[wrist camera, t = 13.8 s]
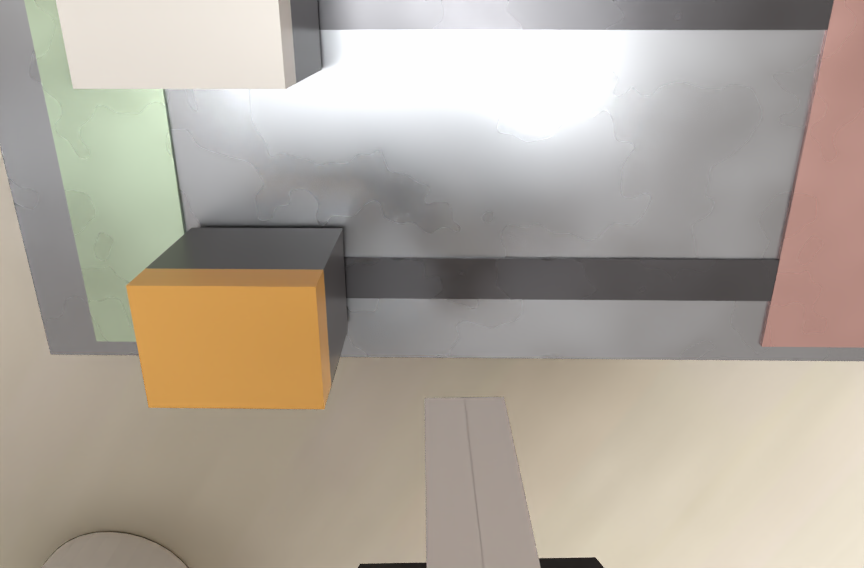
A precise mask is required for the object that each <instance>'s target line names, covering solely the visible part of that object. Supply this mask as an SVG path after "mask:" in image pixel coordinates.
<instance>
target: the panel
mask: <svg viewBox="0 0 864 568" xmlns="http://www.w3.org/2000/svg"><path fill="white" fill-rule="evenodd" d="M317 2H318V19H319V36H320V52H321V69H322V70H321V71H319V72H317V73H315V74H313V75H311V76H309V77H307V78H306V79H304V80H302V81H300V82H298V83H296V84H294V85H292V86H290V87H289V88H287V89H73V86H72V80H71V75H70V70H69V65H68V60H67V55H66V50H65V45H64V40H63V34H62V29H61V24H60V19H59V14H58V9H57V4H56V0H0V148H1V152H2V156H3V160H4V164H5V168H6V172H7V176H8V180H9V185H10V189H11V193H12V197H13V201H14V205H15V209H16V213H17V217H18V222H19V226H20V230H21V234H22V238H23V242H24V246H25V250H26V254H27V259H28V263H29V267H30V271H31V275H32V279H33V283H34V287H35V291H36V295H37V300H38V304H39V308H40V312H41V316H42V320H43V324H44V328H45V332H46V337H47V341H48V345H49V349H50V353H51V354H70V355H139V353H138V348H137V342H136V337H135V332H134V326H133V321H132V315H131V310H130V305H129V299H128V294H127V289H126V285H127V284H128V283H129V282H131V281H132V280H133V279H134V278H135V277H136V276H137V275H139V274H140V273H141V272H142V271H143V270H144V269H145V268H146V267H148V266H149V265H150V264H151V263H152V262H153V261H154V260H156V259H157V258H158V257H159V256H160V255H161V254H162V253H164V252H165V251H166V250H167V249H168V248H169V247H170V246H171V245H173V244H174V243H175V242H176V241H177V240H178V239H179V238H181V237H182V236H183V235H184V234H185V233H186V232H187V231H188V230H190V229H191V228H342V230H343V249H344V268H345V286H346V305H347V324H348V332H347V335H346V338H345V342H344V345H343V348H342V352H341V355H340V357H430V358H550V359H670V360H790V361H864V0H317Z"/></svg>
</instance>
